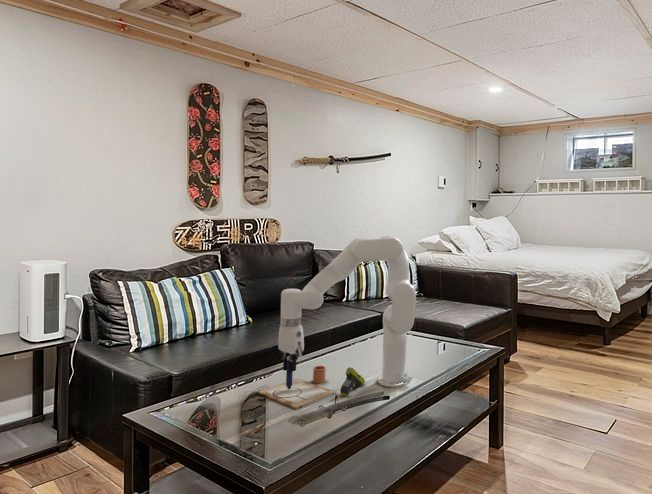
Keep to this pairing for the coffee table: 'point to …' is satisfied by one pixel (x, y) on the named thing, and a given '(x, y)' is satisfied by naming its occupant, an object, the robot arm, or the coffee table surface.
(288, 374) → the pen
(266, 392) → the drawing board
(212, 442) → the coffee table surface
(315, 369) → the pen pot
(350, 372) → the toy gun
